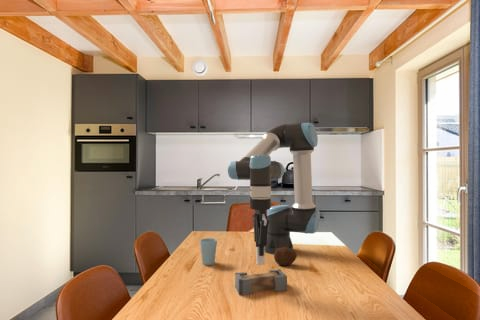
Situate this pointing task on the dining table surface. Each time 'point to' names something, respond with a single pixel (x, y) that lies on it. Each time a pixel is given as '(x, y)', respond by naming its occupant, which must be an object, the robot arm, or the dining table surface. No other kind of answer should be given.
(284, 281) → the endcap
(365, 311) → the dining table surface
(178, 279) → the dining table surface
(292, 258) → the potato
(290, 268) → the dining table surface
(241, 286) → the endcap
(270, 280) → the dark brown block
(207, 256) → the cup
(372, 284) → the dining table surface
